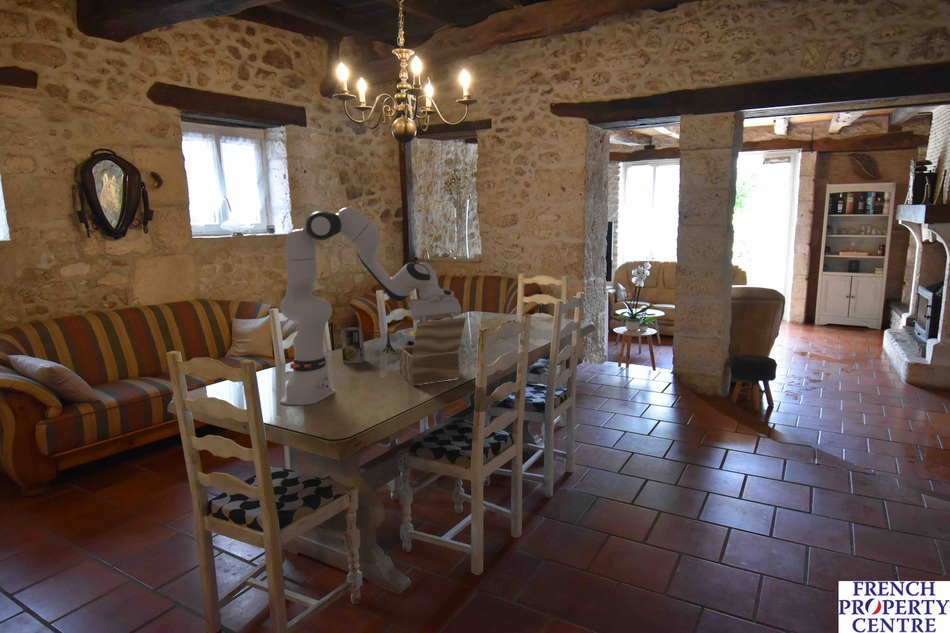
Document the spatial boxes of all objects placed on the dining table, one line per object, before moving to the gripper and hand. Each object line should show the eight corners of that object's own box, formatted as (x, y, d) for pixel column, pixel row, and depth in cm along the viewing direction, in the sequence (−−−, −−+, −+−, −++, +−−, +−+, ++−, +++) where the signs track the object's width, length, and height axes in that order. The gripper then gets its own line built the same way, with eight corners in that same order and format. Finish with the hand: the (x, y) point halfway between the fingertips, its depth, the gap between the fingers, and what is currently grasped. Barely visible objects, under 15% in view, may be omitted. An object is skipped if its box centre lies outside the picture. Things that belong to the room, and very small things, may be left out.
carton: (400, 374, 251) (398, 347, 248) (443, 368, 258) (442, 342, 256) (412, 386, 232) (411, 357, 230) (459, 379, 240) (458, 351, 237)
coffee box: (365, 359, 277) (363, 327, 274) (361, 363, 271) (359, 329, 268) (346, 359, 278) (344, 327, 275) (342, 363, 272) (340, 329, 269)
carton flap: (417, 322, 218) (417, 323, 218) (465, 317, 226) (465, 318, 225) (412, 355, 230) (412, 356, 230) (457, 350, 237) (458, 351, 237)
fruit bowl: (391, 342, 314) (390, 322, 312) (429, 334, 333) (428, 314, 331) (425, 349, 294) (424, 328, 292) (463, 340, 313) (462, 320, 311)
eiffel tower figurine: (370, 355, 289) (368, 329, 286) (378, 350, 298) (377, 325, 296) (398, 356, 285) (396, 329, 282) (405, 351, 294) (404, 325, 292)
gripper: (407, 295, 225) (416, 323, 218) (456, 291, 233) (466, 318, 226) (405, 304, 230) (413, 333, 223) (453, 300, 238) (462, 327, 230)
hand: (440, 325), depth 224 cm, fingers open, 8 cm apart
